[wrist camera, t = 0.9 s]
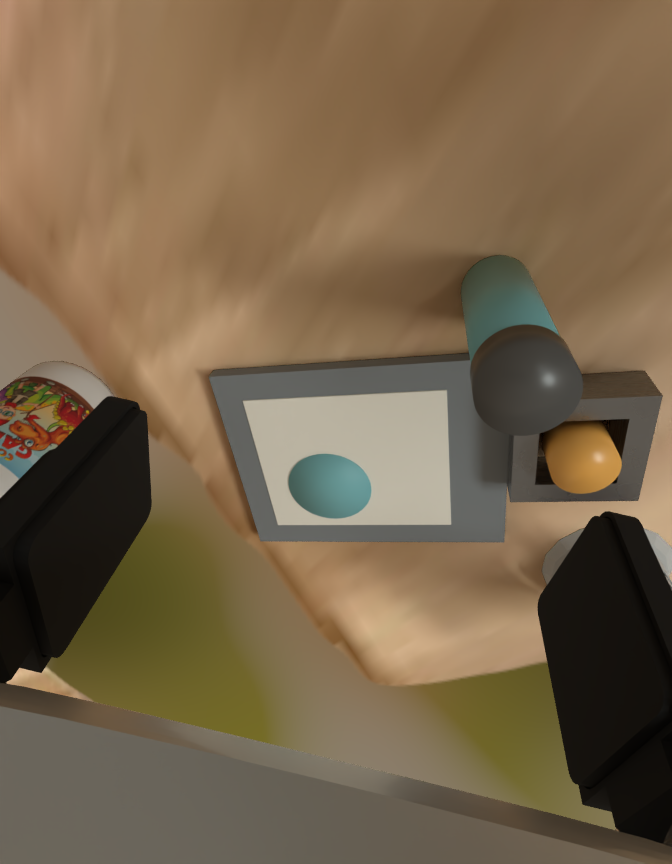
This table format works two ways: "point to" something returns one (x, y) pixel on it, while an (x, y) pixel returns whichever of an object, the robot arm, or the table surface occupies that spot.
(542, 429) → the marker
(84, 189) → the table surface
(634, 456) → the button housing
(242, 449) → the drawing board
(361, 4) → the table surface
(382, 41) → the table surface
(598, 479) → the button
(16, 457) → the milk bottle
